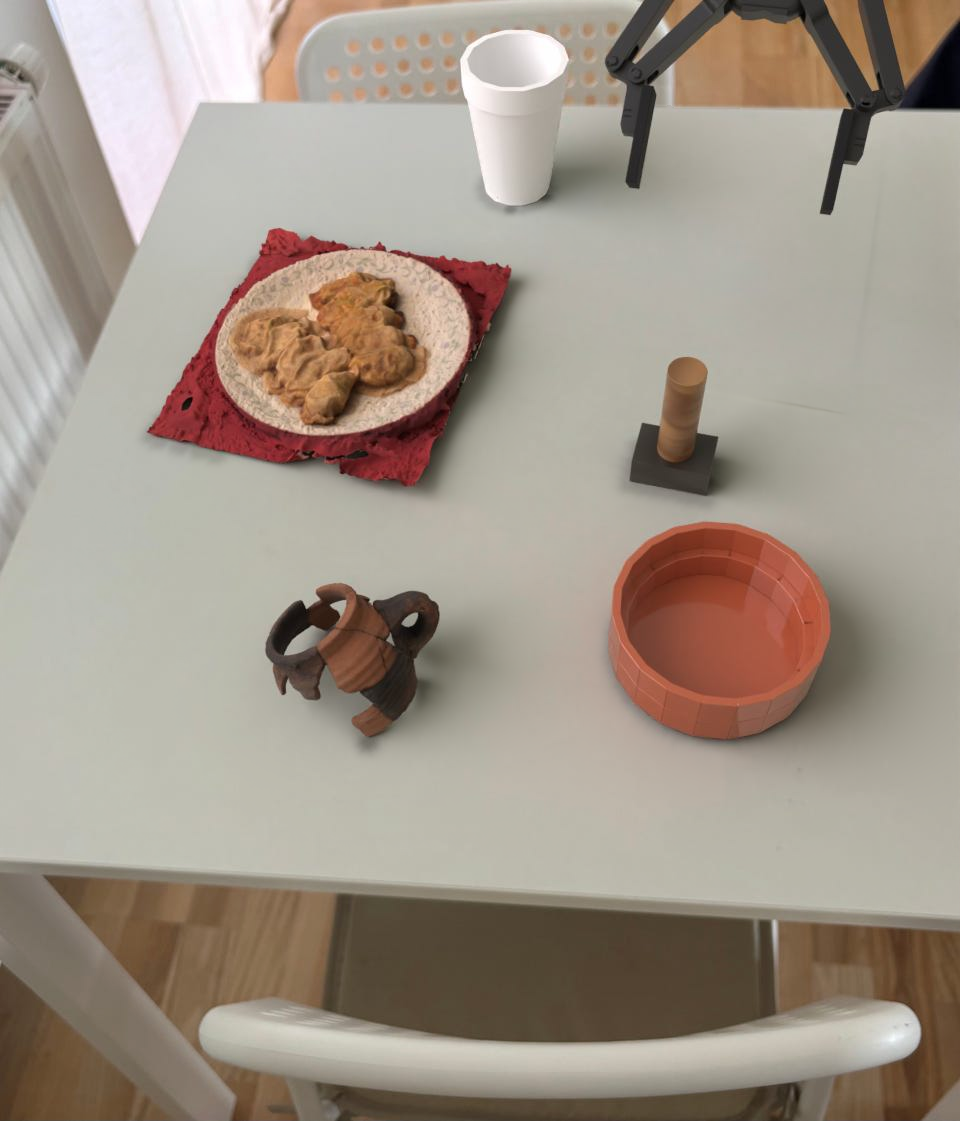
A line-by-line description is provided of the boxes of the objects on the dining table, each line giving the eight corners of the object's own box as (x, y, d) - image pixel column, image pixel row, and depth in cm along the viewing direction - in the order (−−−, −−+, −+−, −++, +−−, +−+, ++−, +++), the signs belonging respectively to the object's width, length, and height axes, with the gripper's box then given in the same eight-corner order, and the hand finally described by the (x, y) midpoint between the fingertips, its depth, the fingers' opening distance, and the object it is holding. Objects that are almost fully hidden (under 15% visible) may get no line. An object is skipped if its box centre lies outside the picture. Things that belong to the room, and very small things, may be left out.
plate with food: (514, 283, 100) (513, 252, 97) (416, 496, 86) (412, 467, 83) (275, 240, 105) (267, 210, 102) (147, 434, 91) (134, 405, 88)
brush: (714, 456, 87) (734, 358, 78) (705, 496, 85) (725, 399, 76) (639, 442, 88) (651, 343, 79) (629, 481, 86) (639, 383, 77)
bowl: (809, 573, 81) (825, 529, 76) (817, 752, 73) (836, 715, 68) (614, 558, 82) (618, 514, 78) (602, 731, 74) (606, 694, 70)
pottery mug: (337, 773, 74) (266, 696, 69) (308, 698, 82) (243, 624, 77) (483, 669, 74) (422, 586, 70) (440, 605, 82) (383, 526, 78)
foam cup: (584, 191, 106) (589, 65, 95) (505, 229, 103) (501, 105, 93) (527, 142, 111) (525, 17, 100) (450, 178, 108) (440, 54, 97)
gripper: (979, -94, 74) (903, 230, 79) (615, -123, 79) (563, 183, 84) (1004, -143, 67) (919, 216, 72) (602, -172, 72) (546, 166, 76)
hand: (727, 199), depth 78 cm, fingers open, 13 cm apart
